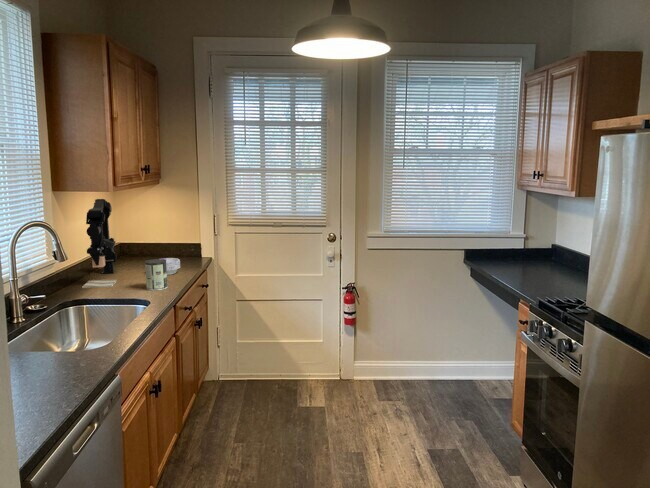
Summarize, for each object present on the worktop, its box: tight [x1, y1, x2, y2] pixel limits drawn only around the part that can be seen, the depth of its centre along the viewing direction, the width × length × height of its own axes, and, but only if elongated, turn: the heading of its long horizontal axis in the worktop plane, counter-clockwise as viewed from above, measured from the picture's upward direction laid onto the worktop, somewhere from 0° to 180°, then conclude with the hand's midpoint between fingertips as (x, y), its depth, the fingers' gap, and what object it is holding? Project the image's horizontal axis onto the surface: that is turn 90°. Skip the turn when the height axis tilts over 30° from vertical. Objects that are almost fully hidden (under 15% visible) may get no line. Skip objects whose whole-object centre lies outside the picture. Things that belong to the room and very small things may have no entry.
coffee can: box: [144, 258, 168, 292], centre depth 260 cm, size 10×10×14 cm
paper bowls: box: [162, 257, 181, 276], centre depth 294 cm, size 15×15×8 cm
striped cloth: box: [81, 278, 118, 289], centre depth 269 cm, size 14×14×1 cm
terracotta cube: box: [91, 256, 105, 268], centre depth 267 cm, size 5×5×5 cm
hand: (98, 264), depth 267 cm, fingers closed on terracotta cube, 5 cm apart
